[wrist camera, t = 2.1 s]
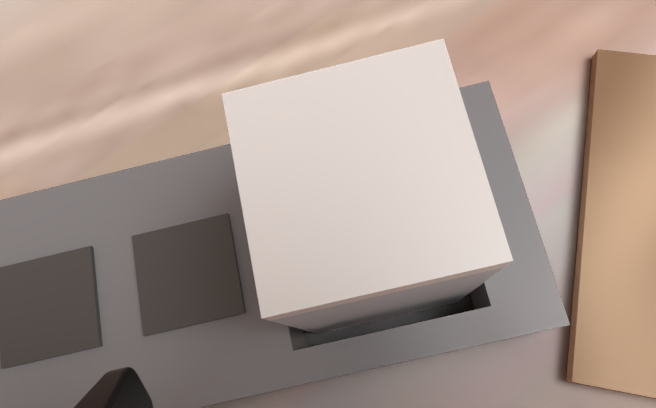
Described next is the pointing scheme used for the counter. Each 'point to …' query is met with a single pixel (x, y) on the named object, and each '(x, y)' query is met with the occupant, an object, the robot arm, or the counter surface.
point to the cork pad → (617, 230)
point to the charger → (363, 191)
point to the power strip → (214, 286)
